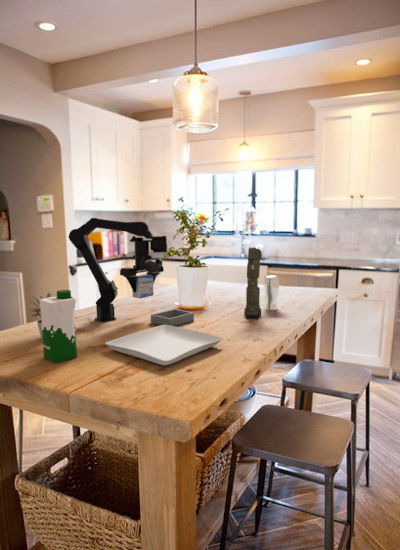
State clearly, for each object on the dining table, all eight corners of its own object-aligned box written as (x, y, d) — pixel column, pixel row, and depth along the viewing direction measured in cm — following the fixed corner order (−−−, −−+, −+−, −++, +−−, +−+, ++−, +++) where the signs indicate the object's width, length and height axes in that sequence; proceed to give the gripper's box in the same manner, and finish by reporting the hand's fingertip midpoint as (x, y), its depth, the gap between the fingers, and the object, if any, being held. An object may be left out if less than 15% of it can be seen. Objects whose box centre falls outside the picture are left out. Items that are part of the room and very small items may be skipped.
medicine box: (139, 298, 162) (139, 277, 160) (132, 297, 164) (131, 276, 163) (153, 295, 168) (153, 274, 166) (146, 294, 170) (145, 273, 169)
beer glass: (278, 307, 188) (278, 275, 185) (279, 310, 181) (280, 277, 179) (262, 307, 188) (263, 275, 186) (263, 310, 181) (264, 277, 179)
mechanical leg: (260, 319, 162) (262, 245, 164) (242, 318, 163) (244, 245, 166) (261, 319, 175) (263, 250, 178) (245, 318, 177) (247, 250, 179)
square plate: (164, 333, 148) (164, 323, 147) (225, 348, 130) (225, 336, 130) (103, 352, 127) (103, 340, 126) (166, 373, 110) (166, 359, 109)
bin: (169, 328, 153) (169, 319, 153) (150, 323, 160) (150, 314, 160) (193, 321, 163) (193, 312, 163) (175, 316, 170) (175, 308, 170)
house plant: (26, 333, 147) (23, 289, 144) (66, 329, 151) (64, 286, 149) (24, 345, 133) (21, 296, 131) (68, 340, 138) (66, 293, 136)
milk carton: (81, 357, 121) (78, 291, 119) (52, 365, 115) (48, 296, 112) (67, 350, 128) (64, 288, 125) (39, 357, 121) (35, 292, 118)
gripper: (136, 255, 151) (137, 296, 153) (172, 252, 165) (173, 290, 167) (118, 254, 159) (119, 293, 161) (154, 251, 172) (154, 287, 175)
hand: (142, 290), depth 166 cm, fingers closed on medicine box, 8 cm apart
